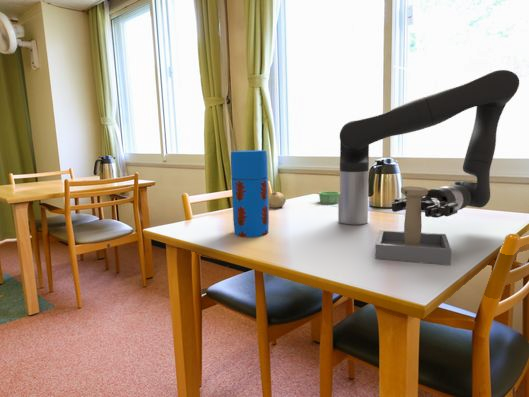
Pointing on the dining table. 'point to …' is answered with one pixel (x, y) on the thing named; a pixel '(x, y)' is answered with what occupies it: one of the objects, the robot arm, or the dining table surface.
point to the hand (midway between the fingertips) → (409, 209)
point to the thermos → (250, 193)
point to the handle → (413, 214)
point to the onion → (276, 200)
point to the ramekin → (329, 197)
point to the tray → (413, 248)
